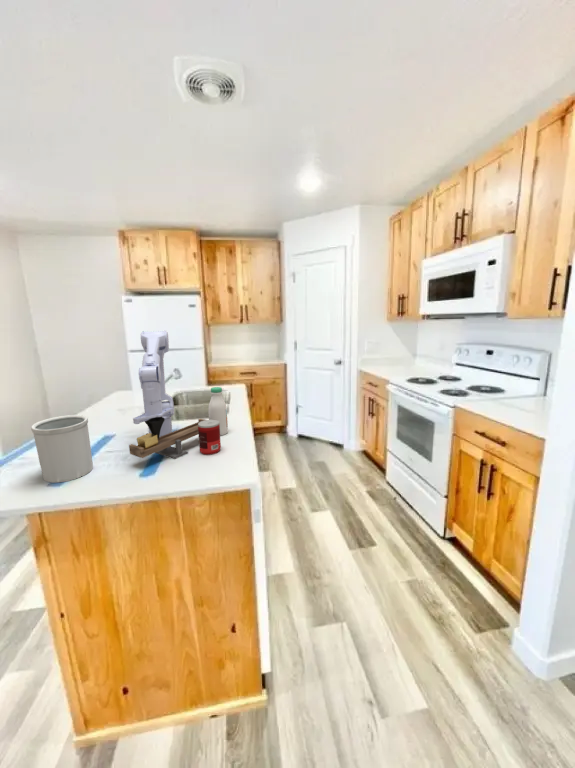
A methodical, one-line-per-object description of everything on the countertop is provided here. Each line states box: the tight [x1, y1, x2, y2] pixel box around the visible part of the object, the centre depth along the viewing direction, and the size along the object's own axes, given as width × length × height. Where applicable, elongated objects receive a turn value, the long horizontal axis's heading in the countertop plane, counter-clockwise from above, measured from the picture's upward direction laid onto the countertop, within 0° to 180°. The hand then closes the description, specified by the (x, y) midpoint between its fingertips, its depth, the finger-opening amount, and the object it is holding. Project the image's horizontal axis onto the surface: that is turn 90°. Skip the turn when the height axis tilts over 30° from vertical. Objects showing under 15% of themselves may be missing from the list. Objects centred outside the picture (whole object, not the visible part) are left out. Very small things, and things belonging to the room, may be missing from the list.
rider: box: [136, 432, 158, 450], centre depth 114 cm, size 4×5×4 cm
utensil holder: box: [31, 414, 94, 484], centre depth 107 cm, size 15×15×18 cm
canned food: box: [198, 419, 222, 455], centre depth 124 cm, size 8×8×11 cm
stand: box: [154, 436, 189, 460], centre depth 123 cm, size 11×6×6 cm, turn 58°
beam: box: [128, 418, 206, 459], centre depth 124 cm, size 7×32×3 cm, turn 148°
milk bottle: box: [207, 386, 229, 436], centre depth 142 cm, size 8×8×20 cm
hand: (156, 438), depth 117 cm, fingers closed
